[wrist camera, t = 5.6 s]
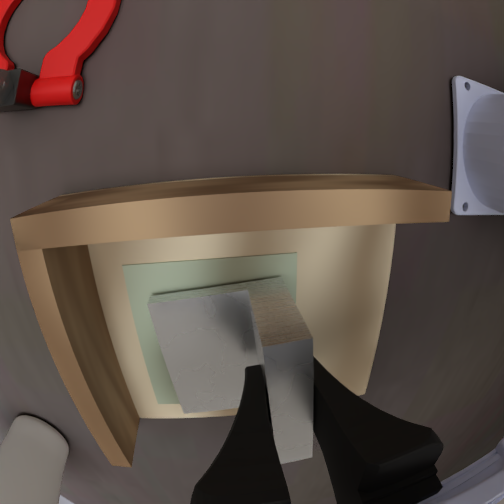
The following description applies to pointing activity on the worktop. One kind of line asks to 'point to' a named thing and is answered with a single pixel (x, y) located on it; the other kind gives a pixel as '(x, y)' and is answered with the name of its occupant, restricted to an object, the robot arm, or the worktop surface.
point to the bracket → (241, 354)
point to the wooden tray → (164, 226)
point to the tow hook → (54, 61)
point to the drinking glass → (32, 462)
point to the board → (239, 271)
